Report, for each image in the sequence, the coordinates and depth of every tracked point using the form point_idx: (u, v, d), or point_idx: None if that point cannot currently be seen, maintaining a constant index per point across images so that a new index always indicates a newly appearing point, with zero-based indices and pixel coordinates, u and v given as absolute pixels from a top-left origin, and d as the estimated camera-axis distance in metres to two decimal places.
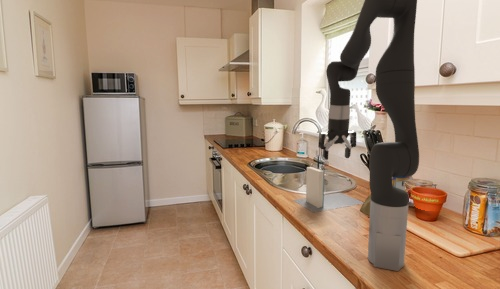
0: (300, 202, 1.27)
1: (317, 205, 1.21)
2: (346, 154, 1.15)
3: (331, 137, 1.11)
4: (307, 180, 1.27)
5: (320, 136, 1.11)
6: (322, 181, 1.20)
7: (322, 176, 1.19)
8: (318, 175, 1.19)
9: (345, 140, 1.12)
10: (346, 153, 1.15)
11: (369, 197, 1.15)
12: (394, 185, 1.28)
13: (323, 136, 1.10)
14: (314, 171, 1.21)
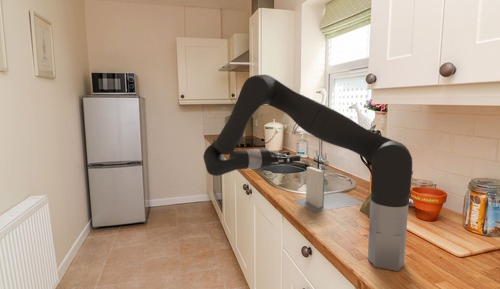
0: (300, 202, 1.27)
1: (317, 205, 1.21)
2: (286, 154, 1.21)
3: (278, 156, 1.12)
4: (307, 180, 1.27)
5: (282, 161, 1.09)
6: (322, 181, 1.20)
7: (322, 176, 1.19)
8: (318, 175, 1.19)
9: (275, 151, 1.17)
10: (285, 154, 1.21)
11: (369, 197, 1.15)
12: None
13: (280, 157, 1.09)
14: (314, 171, 1.21)
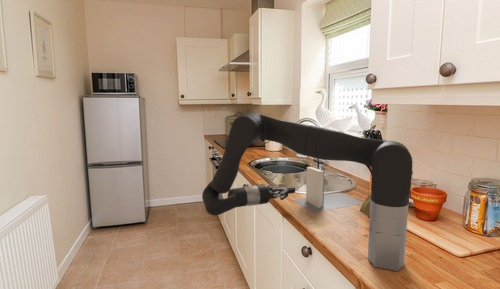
0: (300, 202, 1.27)
1: (317, 205, 1.21)
2: None
3: (278, 191, 1.15)
4: (307, 180, 1.27)
5: (284, 196, 1.12)
6: (322, 181, 1.20)
7: (322, 176, 1.19)
8: (318, 175, 1.19)
9: (275, 187, 1.18)
10: None
11: (369, 197, 1.15)
12: None
13: (282, 192, 1.12)
14: (314, 171, 1.21)
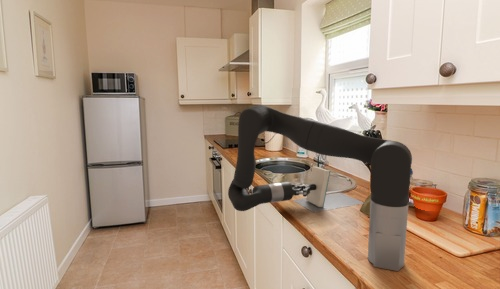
0: (300, 202, 1.27)
1: (317, 204, 1.21)
2: None
3: (300, 188, 1.18)
4: (311, 179, 1.27)
5: (306, 193, 1.16)
6: (326, 181, 1.20)
7: (327, 175, 1.20)
8: (323, 174, 1.20)
9: (296, 184, 1.22)
10: None
11: (369, 197, 1.15)
12: None
13: (305, 189, 1.16)
14: (320, 170, 1.23)
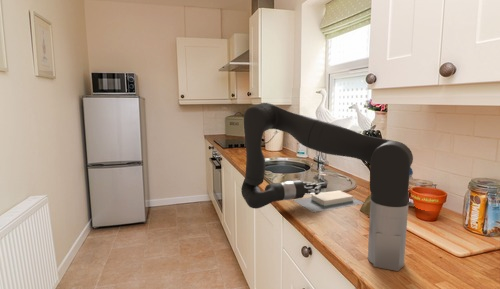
0: (300, 202, 1.27)
1: (324, 200, 1.22)
2: None
3: (311, 186, 1.20)
4: (330, 192, 1.32)
5: (318, 191, 1.18)
6: (345, 201, 1.26)
7: (349, 200, 1.26)
8: (348, 196, 1.27)
9: (308, 182, 1.24)
10: None
11: (369, 197, 1.15)
12: None
13: (316, 188, 1.18)
14: (346, 194, 1.30)
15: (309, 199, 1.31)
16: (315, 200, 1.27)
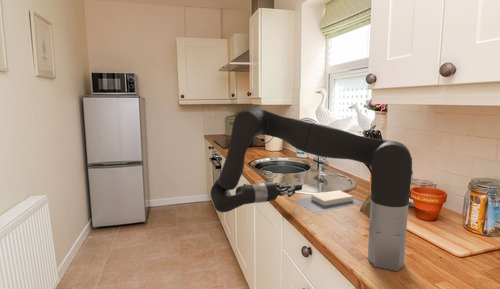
0: (300, 202, 1.27)
1: (324, 200, 1.22)
2: None
3: (285, 188, 1.16)
4: (330, 192, 1.32)
5: (291, 193, 1.13)
6: (345, 201, 1.26)
7: (349, 200, 1.26)
8: (348, 196, 1.27)
9: (282, 184, 1.19)
10: None
11: (369, 197, 1.15)
12: None
13: (289, 189, 1.13)
14: (346, 194, 1.30)
15: (309, 199, 1.31)
16: (315, 200, 1.27)
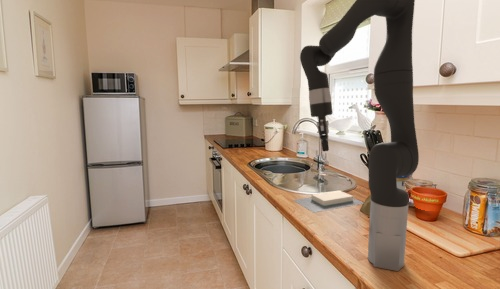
0: (300, 202, 1.27)
1: (324, 200, 1.22)
2: None
3: (325, 126, 1.03)
4: (330, 192, 1.32)
5: (322, 129, 1.01)
6: (345, 201, 1.26)
7: (349, 200, 1.26)
8: (348, 196, 1.27)
9: None
10: None
11: (369, 197, 1.15)
12: None
13: (325, 127, 1.00)
14: (346, 194, 1.30)
15: (309, 199, 1.31)
16: (315, 200, 1.27)
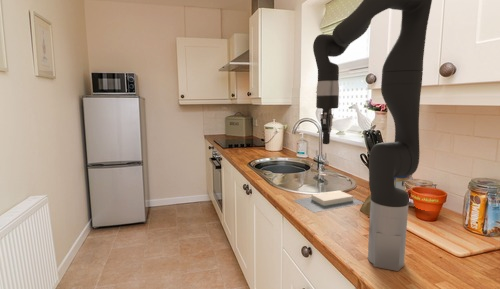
0: (300, 202, 1.27)
1: (324, 200, 1.22)
2: None
3: (329, 119, 1.02)
4: (330, 192, 1.32)
5: (324, 123, 1.00)
6: (345, 201, 1.26)
7: (349, 200, 1.26)
8: (348, 196, 1.27)
9: None
10: None
11: (369, 197, 1.15)
12: None
13: (328, 121, 1.00)
14: (346, 194, 1.30)
15: (309, 199, 1.31)
16: (315, 200, 1.27)
